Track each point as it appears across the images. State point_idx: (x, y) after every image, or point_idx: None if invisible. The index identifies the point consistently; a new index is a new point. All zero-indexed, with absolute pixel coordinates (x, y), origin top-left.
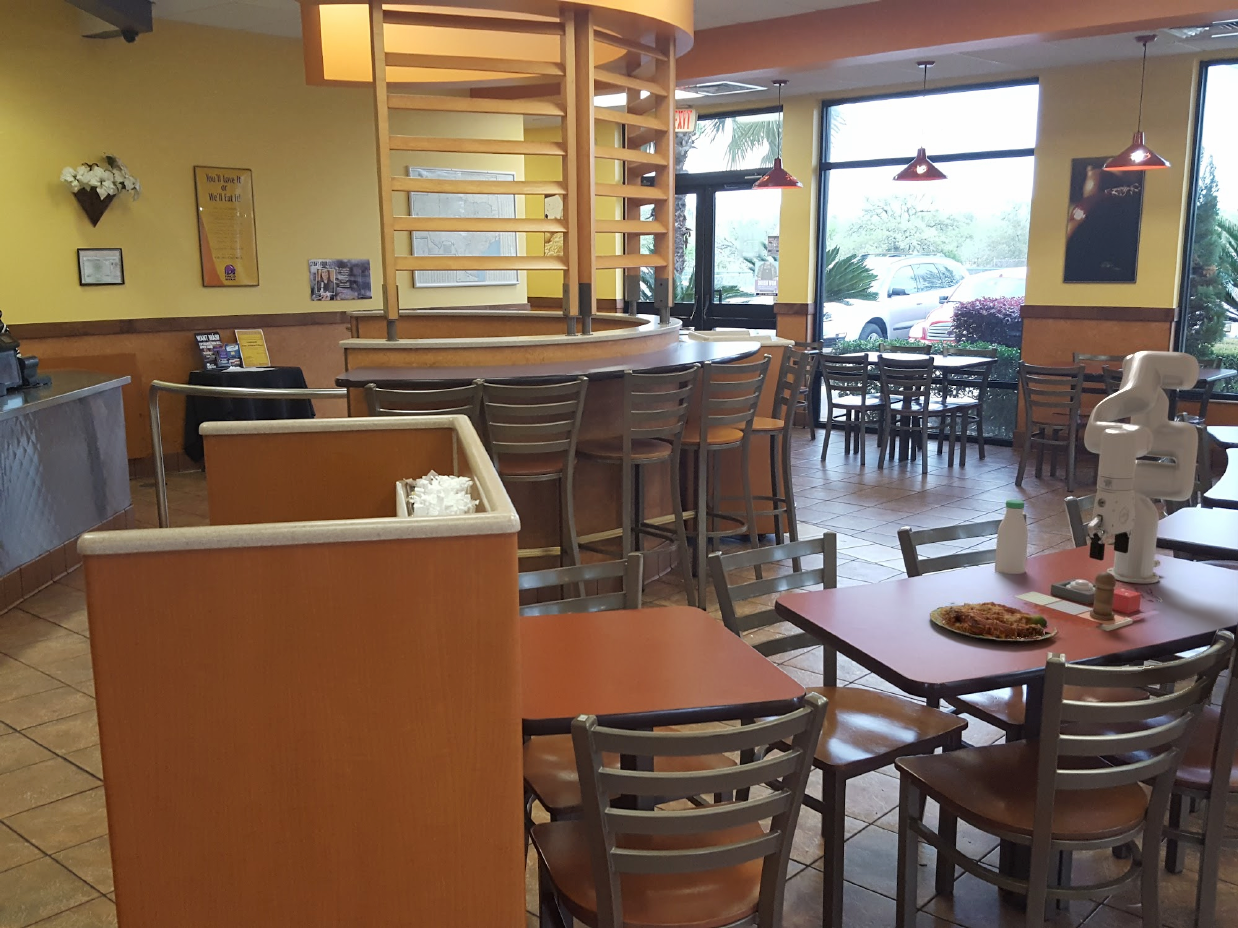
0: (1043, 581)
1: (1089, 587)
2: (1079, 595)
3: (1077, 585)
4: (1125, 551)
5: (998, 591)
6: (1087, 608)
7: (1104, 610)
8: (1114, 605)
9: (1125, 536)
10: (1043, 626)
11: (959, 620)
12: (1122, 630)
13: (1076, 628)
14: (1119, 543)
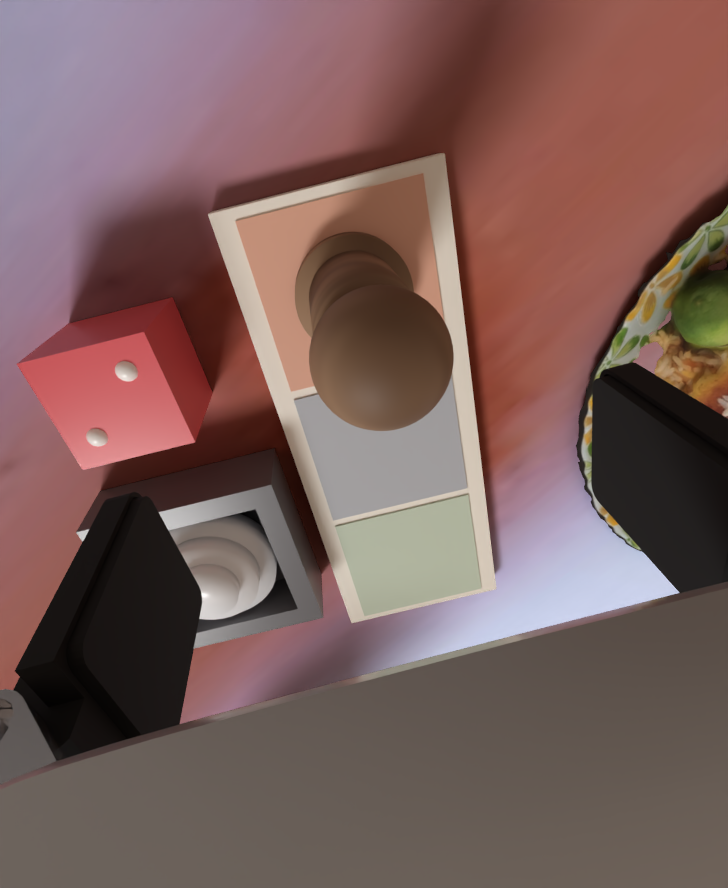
0: (208, 697)
1: (203, 548)
2: (284, 510)
3: (242, 576)
4: (143, 504)
5: (438, 651)
6: (318, 414)
7: (386, 264)
8: (192, 380)
9: (79, 691)
10: (725, 271)
11: None
12: (353, 129)
13: (543, 246)
14: (162, 627)
